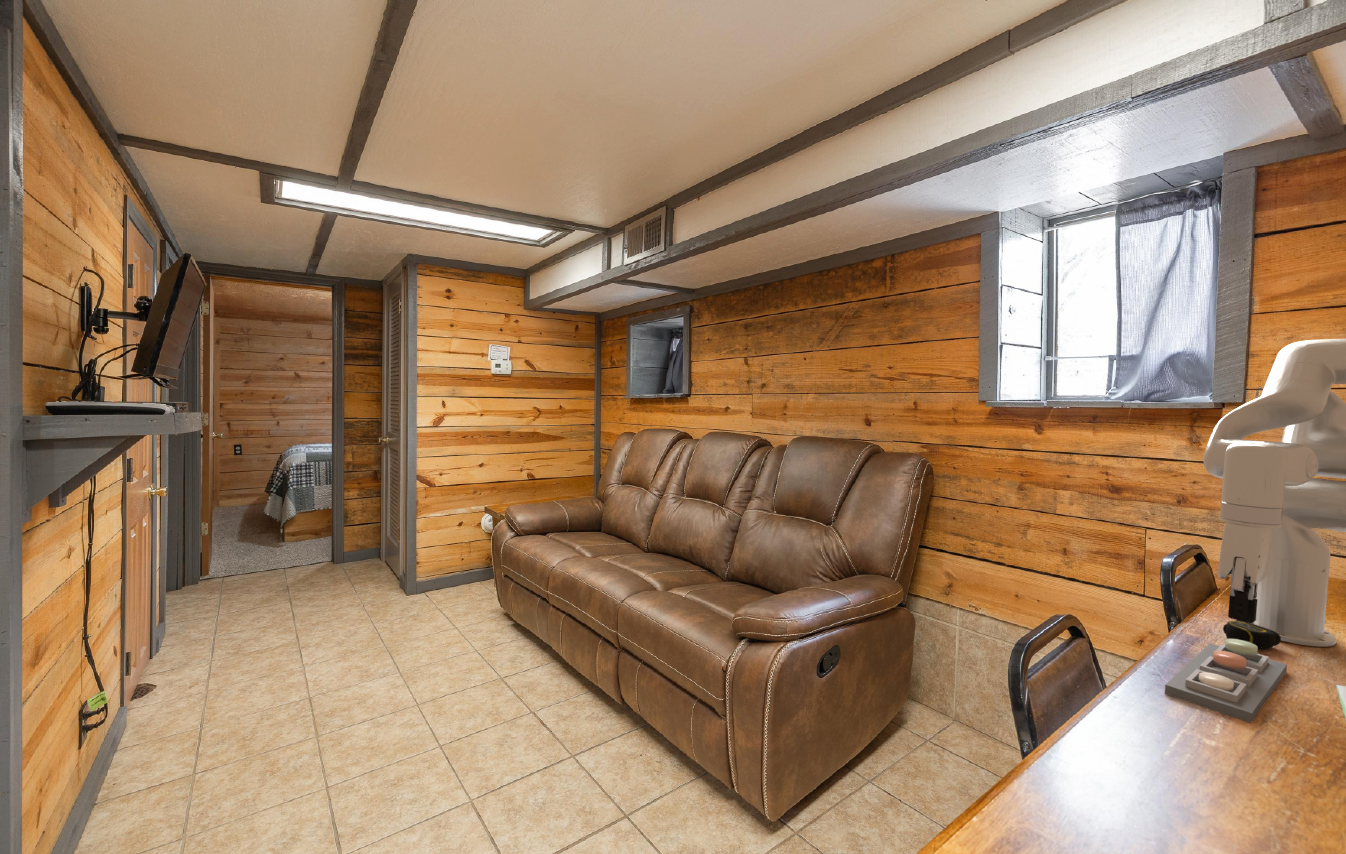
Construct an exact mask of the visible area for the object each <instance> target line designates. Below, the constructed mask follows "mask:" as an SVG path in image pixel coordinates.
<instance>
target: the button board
mask: <svg viewBox="0 0 1346 854" xmlns="http://www.w3.org/2000/svg"><path fill="white" fill-rule="evenodd" d="M1214 651H1227V652H1231V653H1235V652H1232V651H1230V650H1228V649H1226V648H1225V644H1223V643H1221V645H1218V644H1215V643H1211V642H1210V643H1209V644H1207V645H1206V646H1205V647H1204V648H1203V649H1201V651H1200V652H1198V654H1197V655H1196V656H1194V657H1193V659H1191V660H1190V661H1189V662H1188V663H1187V664H1185V666H1184V667H1183V668H1182V669H1180V670H1179V671H1178V672H1177V673H1176V674H1175V675H1174V676H1173V677H1172V678H1171V679H1170V680H1169V681H1168V682H1166V683H1165V685H1164V695H1168V696H1171V697H1174V698H1176V699H1179V700H1182V701H1185V702H1189V703H1190V704H1191V703H1192V704H1193V705H1197V706H1199V707H1203V708H1206V709H1208V710H1212V711H1215V712H1218V713H1220V714H1223V715H1227V716H1229V717H1233V718H1236V719H1238V720H1242V721H1244V722H1246V723H1249V724H1252V723H1253V721H1254V720H1255V718H1256V717H1257V715H1259V713H1260V712H1261V709H1262V708H1263V707H1264V705H1265V704H1266V703H1267V701H1269V698H1270V697H1271V695H1272V694H1273V693H1274V691H1275V690H1276V688H1277V687H1278V686H1279V684H1280V682H1282V680H1283V678H1284V676H1286V674H1287V671H1288V664H1287V663H1284V662H1281V661H1277V660H1273V659H1270V658H1269V656H1268V655H1263V654H1260V653H1257V655H1255V656H1249V655H1242V654H1238V653H1235V654H1238V655H1240V656H1243V657H1244V658H1246V660H1247V661H1246V668H1245V669H1236V668H1230V667H1227V666H1223V665H1221V664H1218V663H1216V662H1215V661H1214V660H1213V652H1214ZM1202 672H1208V673H1214V674H1218V675H1222V676H1224V677H1227V678H1229V679H1231V680H1232V681H1233V682H1234V685H1233V691H1232V692H1228V691H1225V690H1222V689H1219V688H1215V687H1212V686H1209V685H1206V684H1203V683H1200V682H1199V673H1202Z"/></svg>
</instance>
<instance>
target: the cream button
mask: <svg viewBox="0 0 1346 854" xmlns="http://www.w3.org/2000/svg"><path fill="white" fill-rule="evenodd" d="M1199 682H1200V683H1203V684H1206V685H1209V686H1212V687H1215V688H1219V689H1222V690H1225V691H1228V692H1232V691H1233V685H1234V682H1233V681H1232V680H1231V679H1229V678H1227V677H1224V676H1222V675H1218V674H1214V673H1208V672H1202V673H1199Z"/></svg>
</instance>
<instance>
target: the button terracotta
mask: <svg viewBox="0 0 1346 854" xmlns="http://www.w3.org/2000/svg"><path fill="white" fill-rule="evenodd" d="M1213 660H1214V661H1215V662H1216V663H1218V664H1221V665H1223V666H1227V667H1230V668H1236V669H1245V668H1246V661H1247V660H1246V658H1244V657H1243V656H1240V655H1238V654H1235V653H1231V652H1227V651H1214V652H1213Z"/></svg>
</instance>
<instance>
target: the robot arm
mask: <svg viewBox="0 0 1346 854" xmlns="http://www.w3.org/2000/svg"><path fill="white" fill-rule="evenodd" d="M1333 385H1346V338H1324V339H1311V340H1310V339H1309V340H1308V339H1307V340H1300V341H1295V342H1292V343H1290V344H1287V345H1286V346H1284V347H1283V348H1281V350H1279V352H1278V353H1277V355H1276V357H1275V360H1274V362H1273V365H1272V367H1271V369H1270V372H1269V375H1268V377H1267V379H1266V382H1265V384H1264V387H1263V389H1262V392H1261V395H1260V396H1259V397H1256V398H1255V399H1253V400H1252V399H1251V400H1250V401H1247V402H1246V403H1244V404H1242V405H1240V406H1238V407H1237V408H1235V409H1233V410H1231V411H1230V412H1228V413H1227V414H1225V415H1224V416H1222V418H1220V420H1218V422H1217V423H1216V424H1215V426H1214V428H1213V430H1212V432H1211V434H1210V437H1209V439H1208V441H1207V444H1206V447H1205V450H1204V454H1203V466H1204V469H1205V470H1206V472H1207V474H1210V475H1211V476H1212V477H1214V478H1218V479H1222V487H1221V502H1220V509H1219V510H1220V513H1219V521H1221V522H1225V524H1224V525H1225V526H1224V528H1223V529H1224V530H1223V532H1222V538H1221V539H1222V540H1221V545H1220V554H1219V559H1218V560H1219V561H1218V567H1217V576H1218V578H1219V579H1222V580H1224V579H1226V578H1228V577H1229V576H1230V595H1229V601H1228V613H1227V617H1228V619H1229V618H1230V619H1231V620H1234V621H1235V620H1239V621H1243V622H1247V623H1251V624H1255V625H1258V626H1261V627H1264V628H1267V629H1270V630H1272V631H1274V632H1276V633H1278V634H1279V635H1280V636H1281V641H1280V642H1284V643H1285V642H1286V643H1291V644H1295V645H1301V646H1306V647H1307V646H1308V647H1318V648H1319V647H1320V648H1321V647H1322V648H1323V647H1324V648H1326V647H1332V646H1335V645H1336V644H1337V643H1336V641H1337V638H1336V636H1335V635H1334V634H1333V633H1331V632H1329V631H1327V630H1325V628H1326V627H1325V625H1326V624H1325V623H1326V613H1327V599H1328V588H1329V576H1330V567H1331V566H1330V564H1331V552H1330V548H1329V546H1328V544H1327V543H1326V542H1325V541H1324V539H1322V537H1321V536H1320V535H1319V534H1318V532H1316V531H1315V529H1318V530H1329V531H1336V532H1343V533H1346V402H1345V401H1344V400H1343V399H1342V398H1341V397H1340V396H1338V395H1337V394H1336V393H1334V392H1333V391H1332V390H1331V389H1332V387H1333ZM1281 428H1284V429H1283V433H1282V437H1281V441H1271V440H1270V441H1268V440H1256V439H1244V438H1247V437H1249V436H1252V435H1254V434H1255V435H1256V434H1258V433H1261V432H1266V431H1270V430H1274V429H1281ZM1317 477H1318V478H1317ZM1319 477H1321V478H1319ZM1327 478H1333V479H1327ZM1336 479H1337V480H1336ZM1338 479H1345V481H1344V480H1338Z"/></svg>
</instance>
